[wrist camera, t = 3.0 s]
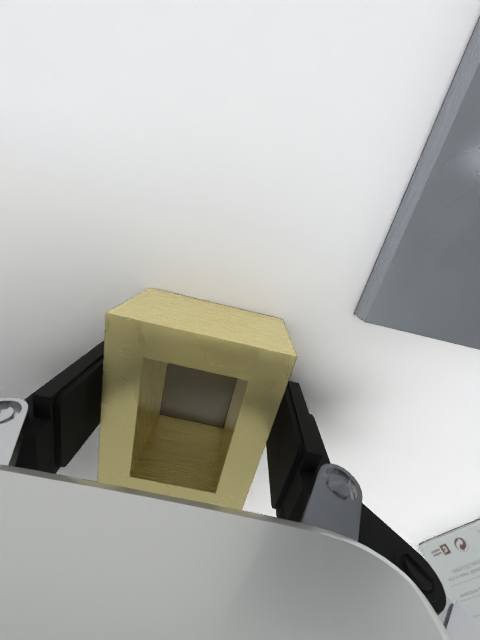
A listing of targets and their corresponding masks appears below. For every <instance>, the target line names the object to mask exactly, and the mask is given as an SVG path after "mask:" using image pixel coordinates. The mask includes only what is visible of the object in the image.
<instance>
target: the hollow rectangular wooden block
mask: <svg viewBox="0 0 480 640" xmlns="http://www.w3.org/2000/svg"><path fill="white" fill-rule="evenodd" d="M296 358H297V355H296V352H295V350H294V347H293V345H292V342H291V340H290V337H289V335H288V332H287V330H286V327H285V325H284V322H283V320H282V319H279V318H275V317H271V316H267V315H262V314H258V313H254V312H250V311H246V310H241V309H237V308H233V307H229V306H224V305H220V304H216V303H212V302H208V301H203V300H199V299H195V298H191V297H186V296H182V295H178V294H174V293H170V292H165V291H161V290H157V289H153V288H149V289H147V290H145V291H144V292H142V293H140V294H138V295H136V296H135V297H133V298H131V299H129V300H127V301H126V302H124V303H122V304H120V305H119V306H117V307H115V308H113V309H111V310H110V311H108V312H106V320H105V340H104V361H103V381H102V401H101V421H100V441H99V461H98V481H97V482H100V483H105V484H111V485H116V486H121V487H126V488H131V489H136V490H142V491H147V492H152V493H157V494H162V495H167V496H172V497H177V498H182V499H188V500H193V501H198V502H203V503H208V504H213V505H218V506H222V507H227V508H232V509H237V510H242V508H243V505H244V503H245V500H246V497H247V494H248V492H249V489H250V486H251V483H252V480H253V478H254V475H255V472H256V469H257V467H258V464H259V461H260V458H261V456H262V453H263V450H264V447H265V444H266V442H267V439H268V436H269V433H270V431H271V428H272V425H273V422H274V419H275V417H276V414H277V411H278V408H279V406H280V403H281V400H282V397H283V394H284V392H285V389H286V386H287V383H288V381H289V378H290V375H291V372H292V370H293V367H294V364H295V361H296ZM168 363H170V364H175V365H179V366H184V367H188V368H193V369H197V370H202V371H206V372H211V373H215V374H220V375H224V376H229V377H233V378H237V381H236V385H235V389H234V392H233V396H232V400H231V403H230V407H229V411H228V414H227V418H226V422H225V425H224V428H221V427H217V426H212V425H207V424H202V423H198V422H193V421H188V420H183V419H179V418H174V417H169V416H164V415H160V410H161V403H162V397H163V390H164V384H165V377H166V371H167V364H168Z"/></svg>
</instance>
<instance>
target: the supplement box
mask: <svg viewBox="0 0 480 640" xmlns="http://www.w3.org/2000/svg"><path fill="white" fill-rule="evenodd" d="M419 547H420V550H421V551H422V553H423V555H424V557H425V559H426V561H427V562H428V563H429V564H430V566H431V567H432V568H433V570H434V571H435V572H436V574H437V576H438V578H439V579H440V581H441V583H442V585H443V588H444V591H445V594H446V597H447V598H448V599H449V600H450V601H451V602H453V601H455V600H457V601H458V602H459V603H460V604H461V605H462V606H463V607H464V608H465V609H466V611H467V612H468V613H469V614H470V615H471V616H472V617H473V618H474V619H475V620H476V621H477V622H478V623H479V624H480V519H479V520H476V521H474V522H472V523H469V524H466V525H464V526H461V527H459V528H457V529H454V530H452V531H449V532H447V533H445V534H442V535H440V536H437V537H435V538H433V539H430V540H428V541H426V542H424V543H422V544H421V545H420V546H419Z"/></svg>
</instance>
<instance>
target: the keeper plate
mask: <svg viewBox="0 0 480 640" xmlns="http://www.w3.org/2000/svg"><path fill="white" fill-rule="evenodd" d="M354 314H355V315H356V316H357V317H359V318H360V319H361V320H363V321H364V322H367V323H371V324H376V325H380V326H384V327H388V328H392V329H396V330H400V331H405V332H409V333H413V334H417V335H421V336H425V337H430V338H434V339H438V340H442V341H446V342H450V343H454V344H459V345H463V346H467V347H471V348H475V349H479V350H480V18H479V20H478V23H477V25H476V27H475V30H474V32H473V34H472V37H471V39H470V41H469V44H468V46H467V49H466V51H465V53H464V56H463V58H462V60H461V63H460V65H459V67H458V70H457V72H456V75H455V77H454V79H453V82H452V84H451V86H450V89H449V91H448V93H447V96H446V98H445V101H444V103H443V105H442V108H441V110H440V112H439V115H438V117H437V119H436V122H435V124H434V127H433V129H432V131H431V134H430V136H429V138H428V141H427V143H426V145H425V148H424V150H423V153H422V155H421V157H420V160H419V162H418V164H417V167H416V169H415V171H414V174H413V176H412V179H411V181H410V183H409V186H408V188H407V190H406V193H405V195H404V197H403V200H402V202H401V205H400V207H399V209H398V212H397V214H396V216H395V219H394V221H393V223H392V226H391V228H390V231H389V233H388V235H387V238H386V240H385V242H384V245H383V247H382V249H381V252H380V254H379V257H378V259H377V261H376V264H375V266H374V268H373V271H372V273H371V275H370V278H369V280H368V283H367V285H366V287H365V290H364V292H363V294H362V297H361V299H360V301H359V304H358V306H357V309H356V311H355V313H354Z"/></svg>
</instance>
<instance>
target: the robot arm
mask: <svg viewBox="0 0 480 640" xmlns="http://www.w3.org/2000/svg"><path fill="white" fill-rule="evenodd" d="M103 361H104V341H103V342H101V343H100V344H99V345H97V346H96V347H95V348H93V349H92V350H91V351H89V352H88V353H87V354H85V355H84V356H83V357H81V358H80V359H78V360H77V361H76V362H74V363H73V364H72V365H70V366H69V367H68V368H66V369H65V370H64V371H62V372H61V373H60V374H58V375H57V376H56V377H54V378H53V379H52V380H50V381H49V382H48V383H46V384H45V385H44V386H42V387H41V388H40V389H38V390H37V391H35V392H34V393H33V394H32V395H30V396H29V397H28V398H26V399H25V400H22V399H20V398H14V397H11V398H0V640H480V624H479V623H478V622H477V621H476V620H475V619H474V618H473V617H472V616H471V615H470V614H469V613H468V612H467V611H466V609H465V608H464V607H463V606H462V605H461V604H460V603H459V602H458V601H457V600H455V601H453V602H451V601H450V600H449V599H448V598H447V597H446V594H445V591H444V588H443V585H442V583H441V581H440V579H439V578H438V576H437V574H436V572H435V571H434V570H433V568H432V567H431V566H430V564H429V563H428V562H427V561H426V560H425V559H424V558H423V557H422V556H421V555H420V554H419V553H418V552H417V551H415V550H414V549H413V548H412V547H411V546H410V545H409V544H408V543H407V542H405V541H404V540H403V539H402V538H401V537H400V536H399V535H398V534H396V533H395V532H394V531H393V530H392V529H391V528H390V527H389V526H387V525H386V524H385V523H384V522H383V521H382V520H381V519H380V518H379V517H377V516H376V515H375V514H374V513H373V512H372V511H371V510H370V509H368V508H367V507H366V506H365V505H364V504H363V503H362V491H361V488H360V486H359V484H358V482H357V481H356V479H355V478H354V477H353V476H352V475H351V474H350V473H349V472H348V471H346V470H345V469H344V468H342V467H340V466H338V465H335V464H330V461H329V458H328V455H327V452H326V450H325V447H324V444H323V441H322V438H321V436H320V433H319V430H318V427H317V424H316V422H315V419H314V417H313V415H311V414H309V412H308V409H307V406H306V403H305V400H304V397H303V394H302V391H301V388H300V385H299V383H296V382H292V381H288V383H287V386H286V389H285V392H284V394H283V397H282V400H281V403H280V406H279V408H278V411H277V414H276V417H275V419H274V422H273V425H272V428H271V431H270V433H269V436H268V439H267V442H266V447H267V459H268V471H269V483H270V494H271V505H272V508H274V509H276V515H277V518H276V517H271V516H267V515H262V514H257V513H252V512H247V511H242V510H237V509H232V508H227V507H222V506H218V505H213V504H208V503H203V502H198V501H193V500H188V499H182V498H177V497H172V496H167V495H162V494H157V493H152V492H147V491H142V490H136V489H131V488H126V487H121V486H116V485H111V484H105V483H100V482H95V481H90V480H84V479H79V478H74V477H68V476H63V475H58V474H55V473H56V472H57V471H58V470H59V468H60V467H65V466H66V465H67V464H68V463H69V462H70V460H71V459H72V458H73V457H74V455H75V454H76V453H77V452H78V450H79V449H80V448H81V446H82V445H83V444H84V443H85V441H86V440H87V439H88V437H89V436H90V435H91V434H92V432H93V431H94V430H95V428H96V427H97V426H98V425H99V423H100V421H101V401H102V381H103Z"/></svg>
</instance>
